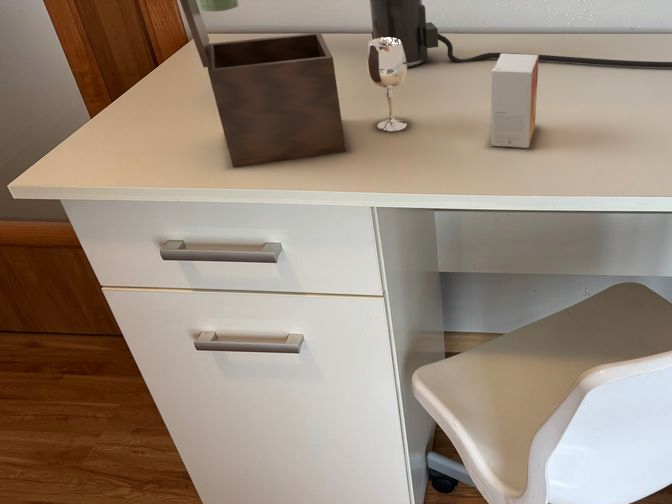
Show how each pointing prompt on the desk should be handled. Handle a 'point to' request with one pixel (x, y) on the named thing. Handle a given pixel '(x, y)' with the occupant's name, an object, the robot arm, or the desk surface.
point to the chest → (276, 98)
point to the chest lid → (197, 30)
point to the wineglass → (387, 73)
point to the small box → (513, 100)
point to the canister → (217, 5)
